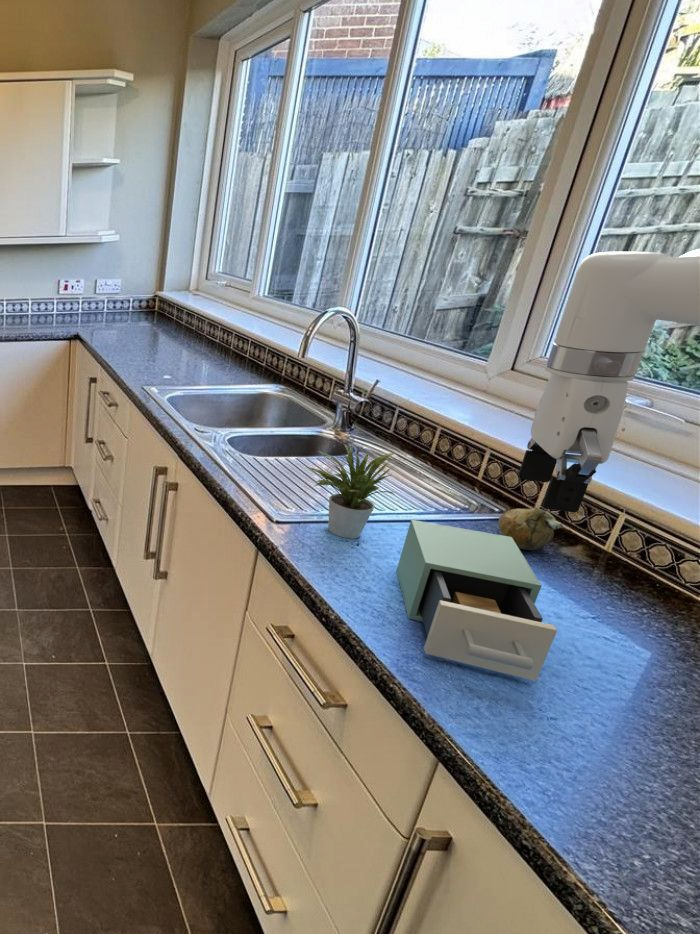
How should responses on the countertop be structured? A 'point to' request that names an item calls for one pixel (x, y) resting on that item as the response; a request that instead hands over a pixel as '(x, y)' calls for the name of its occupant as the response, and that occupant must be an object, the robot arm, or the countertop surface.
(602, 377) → the robot arm
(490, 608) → the block
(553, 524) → the onion
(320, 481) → the house plant
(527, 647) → the beige cabinet drawer
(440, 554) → the green drawer box
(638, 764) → the countertop surface
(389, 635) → the countertop surface
